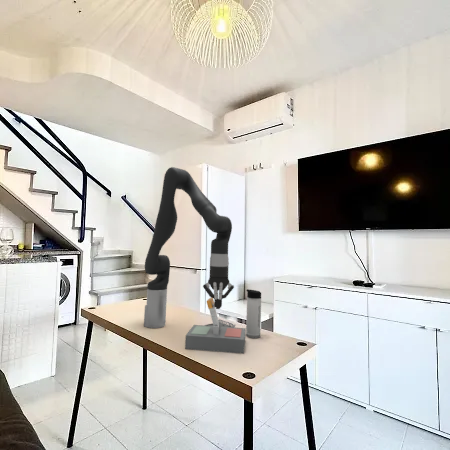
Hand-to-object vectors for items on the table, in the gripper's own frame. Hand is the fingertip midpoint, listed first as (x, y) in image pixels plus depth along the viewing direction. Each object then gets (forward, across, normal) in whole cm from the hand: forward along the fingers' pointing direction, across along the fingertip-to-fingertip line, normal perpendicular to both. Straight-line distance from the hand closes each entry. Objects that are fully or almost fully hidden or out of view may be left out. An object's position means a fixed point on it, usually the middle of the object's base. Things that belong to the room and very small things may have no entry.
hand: (218, 308), depth 113 cm
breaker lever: (+8, 0, 0) cm, 8 cm away
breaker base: (+14, 0, 0) cm, 14 cm away
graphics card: (+15, -4, +17) cm, 23 cm away
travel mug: (+14, +14, +13) cm, 24 cm away
